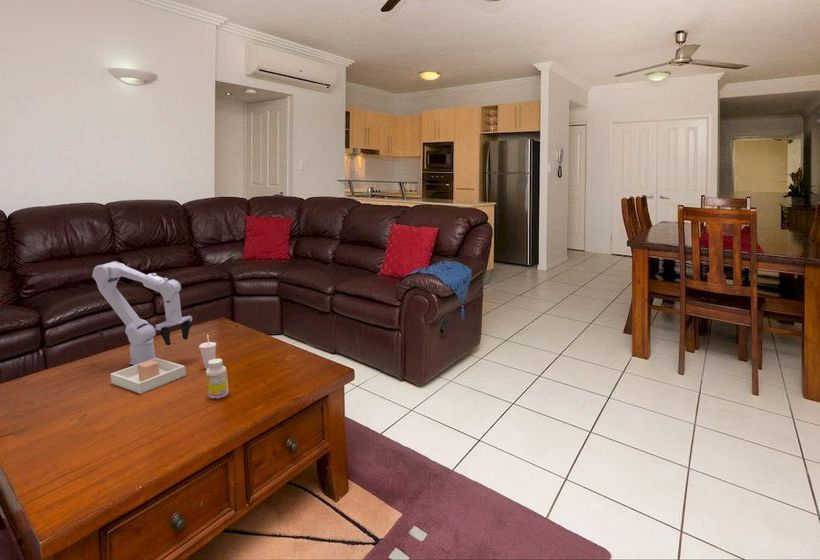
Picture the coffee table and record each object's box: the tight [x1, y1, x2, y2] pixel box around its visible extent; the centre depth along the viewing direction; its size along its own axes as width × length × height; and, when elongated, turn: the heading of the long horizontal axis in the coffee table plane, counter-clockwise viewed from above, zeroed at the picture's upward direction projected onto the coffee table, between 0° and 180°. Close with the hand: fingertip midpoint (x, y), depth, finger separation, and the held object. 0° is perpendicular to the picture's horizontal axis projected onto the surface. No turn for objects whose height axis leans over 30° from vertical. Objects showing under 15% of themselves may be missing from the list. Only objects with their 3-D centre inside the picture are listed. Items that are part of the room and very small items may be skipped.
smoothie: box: [198, 333, 217, 370], centre depth 184 cm, size 6×6×14 cm
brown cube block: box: [137, 360, 160, 381], centre depth 173 cm, size 5×5×6 cm
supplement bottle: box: [205, 358, 230, 399], centre depth 160 cm, size 7×7×13 cm
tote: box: [110, 357, 187, 395], centre depth 174 cm, size 18×18×4 cm
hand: (176, 341), depth 187 cm, fingers open, 7 cm apart
